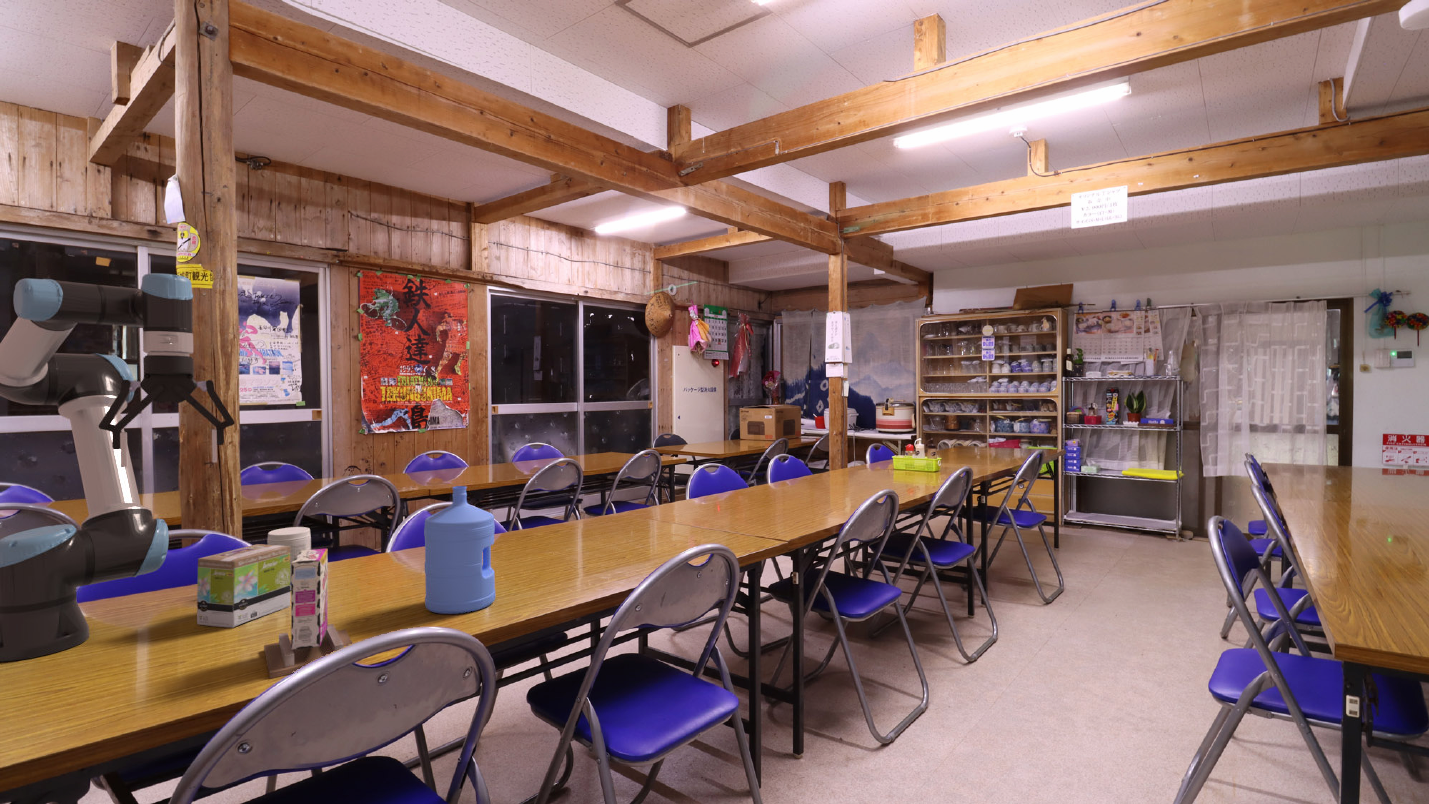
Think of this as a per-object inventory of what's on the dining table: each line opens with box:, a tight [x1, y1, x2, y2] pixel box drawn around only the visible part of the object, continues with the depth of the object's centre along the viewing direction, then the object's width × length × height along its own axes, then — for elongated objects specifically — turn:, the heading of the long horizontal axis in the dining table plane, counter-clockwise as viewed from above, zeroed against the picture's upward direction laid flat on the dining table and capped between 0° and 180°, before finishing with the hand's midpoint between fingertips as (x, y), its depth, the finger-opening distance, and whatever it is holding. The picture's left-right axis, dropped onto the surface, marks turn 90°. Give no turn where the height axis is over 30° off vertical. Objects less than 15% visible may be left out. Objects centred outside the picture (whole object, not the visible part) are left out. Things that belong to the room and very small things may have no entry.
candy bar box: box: [290, 548, 329, 650], centre depth 127 cm, size 11×5×16 cm, turn 24°
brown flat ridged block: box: [263, 623, 353, 679], centre depth 128 cm, size 14×16×3 cm
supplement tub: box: [266, 526, 312, 591], centre depth 172 cm, size 10×10×15 cm
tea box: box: [196, 543, 291, 628], centre depth 150 cm, size 15×10×15 cm
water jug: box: [423, 485, 496, 615], centre depth 157 cm, size 16×16×28 cm
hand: (171, 464), depth 129 cm, fingers open, 13 cm apart
